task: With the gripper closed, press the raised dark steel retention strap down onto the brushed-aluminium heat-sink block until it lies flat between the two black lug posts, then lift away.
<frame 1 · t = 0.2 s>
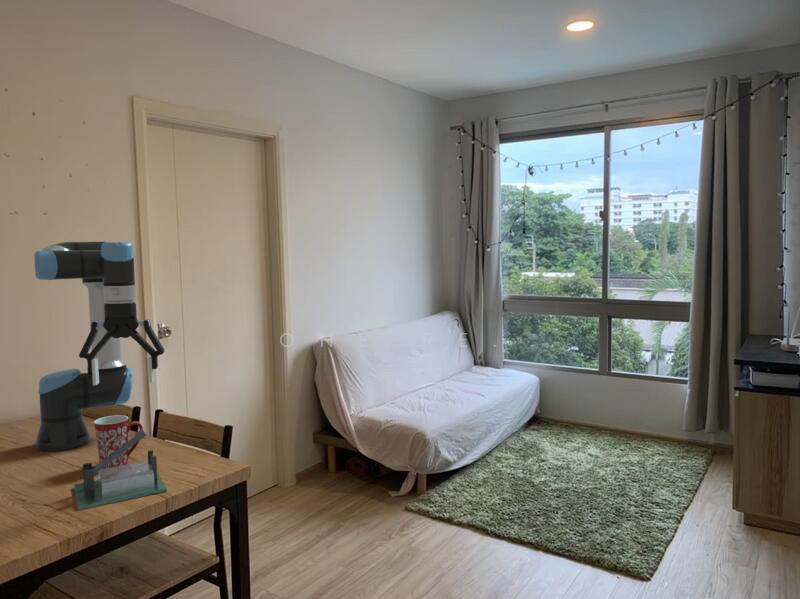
hand: (124, 382, 156), 27 cm above the table, fingers open, 13 cm apart
mug: (120, 464, 172), on the table
strap: (115, 453, 152), point 10 cm above the table, hinge at 32.0°
heatsink assembly: (120, 489, 153), on the table
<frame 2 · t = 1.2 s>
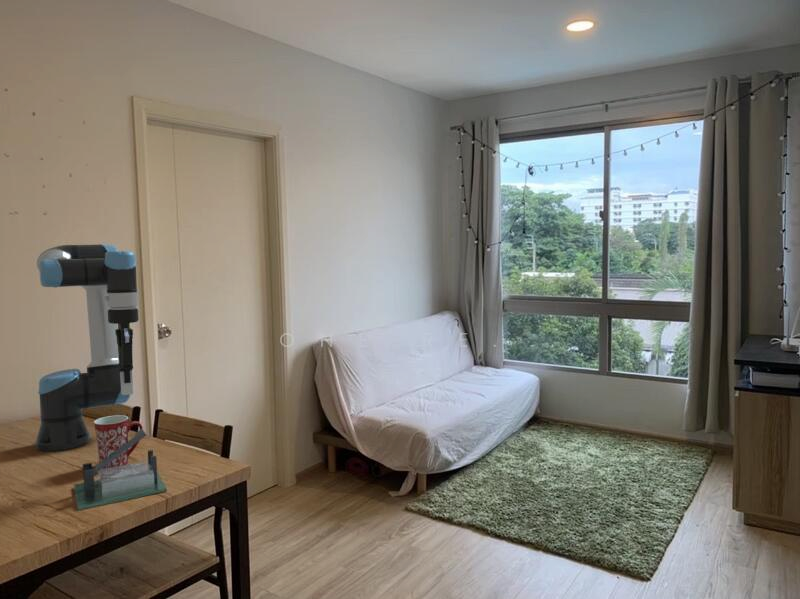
hand: (127, 393, 163), 22 cm above the table, fingers closed
nothing on the table moved.
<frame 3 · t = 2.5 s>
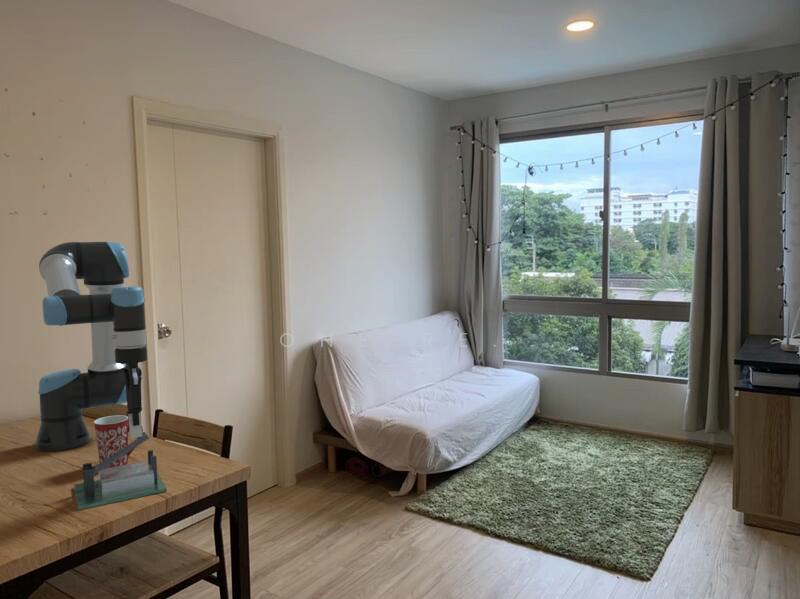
hand: (136, 436, 154), 13 cm above the table, fingers closed
strap: (116, 455, 153), point 9 cm above the table, hinge at 28.0°, touching gripper
everything else where it was.
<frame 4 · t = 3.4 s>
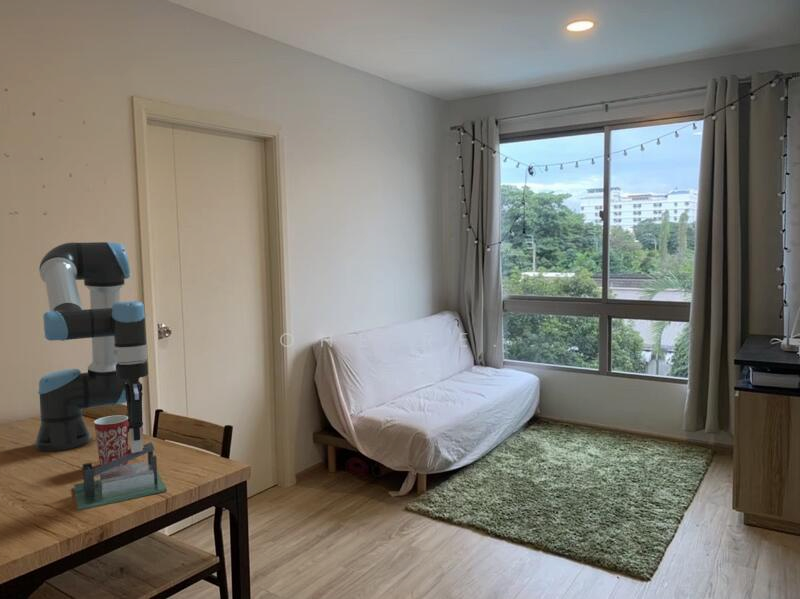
hand: (137, 451, 155), 9 cm above the table, fingers closed
strap: (120, 460, 153), point 8 cm above the table, hinge at 15.6°, touching gripper
everything else where it was.
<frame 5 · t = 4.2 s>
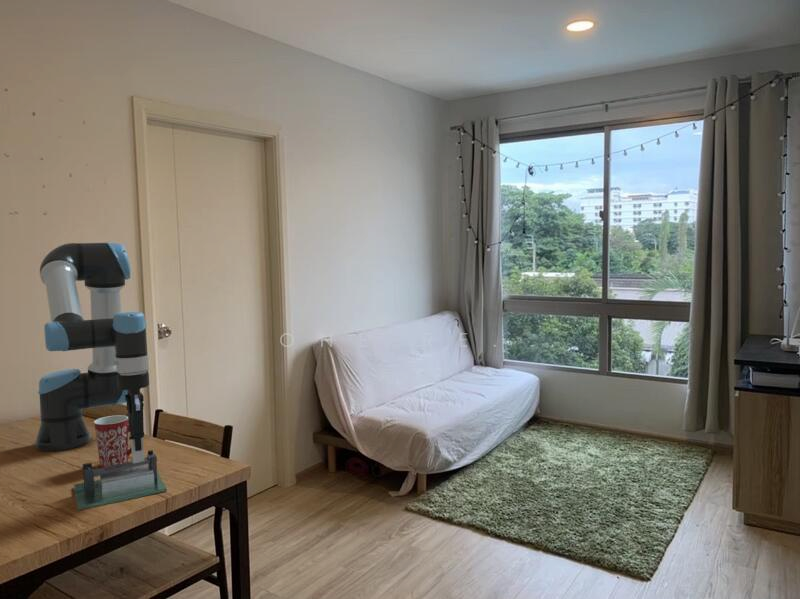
hand: (138, 461, 155), 7 cm above the table, fingers closed
strap: (121, 466, 153), point 6 cm above the table, hinge at 3.8°, touching gripper
everything else where it was.
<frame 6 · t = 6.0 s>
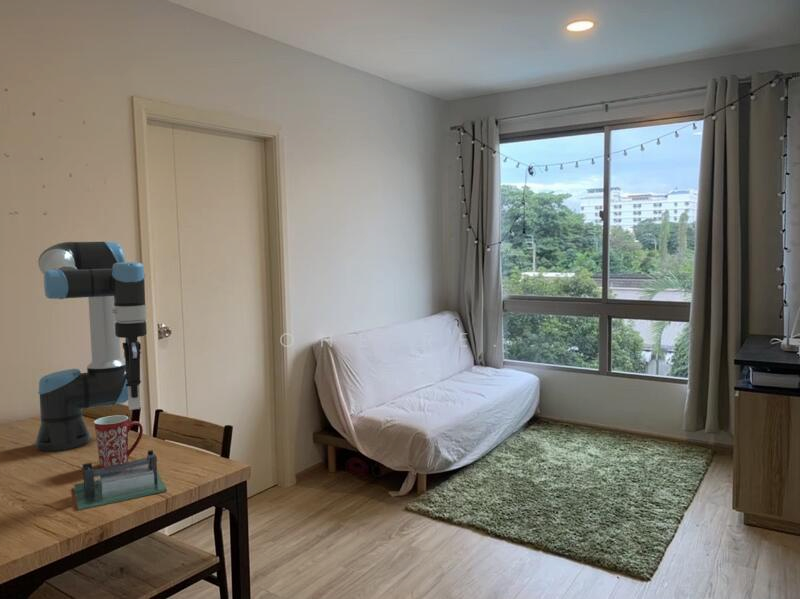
hand: (134, 408, 159), 19 cm above the table, fingers closed
strap: (121, 466, 153), point 6 cm above the table, hinge at 3.7°
everything else where it was.
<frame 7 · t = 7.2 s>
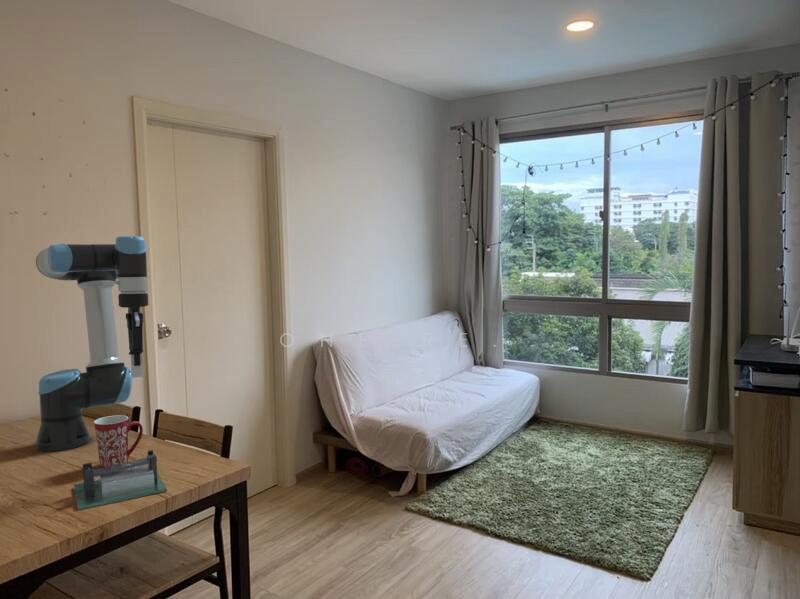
hand: (137, 376, 166), 26 cm above the table, fingers closed
nothing on the table moved.
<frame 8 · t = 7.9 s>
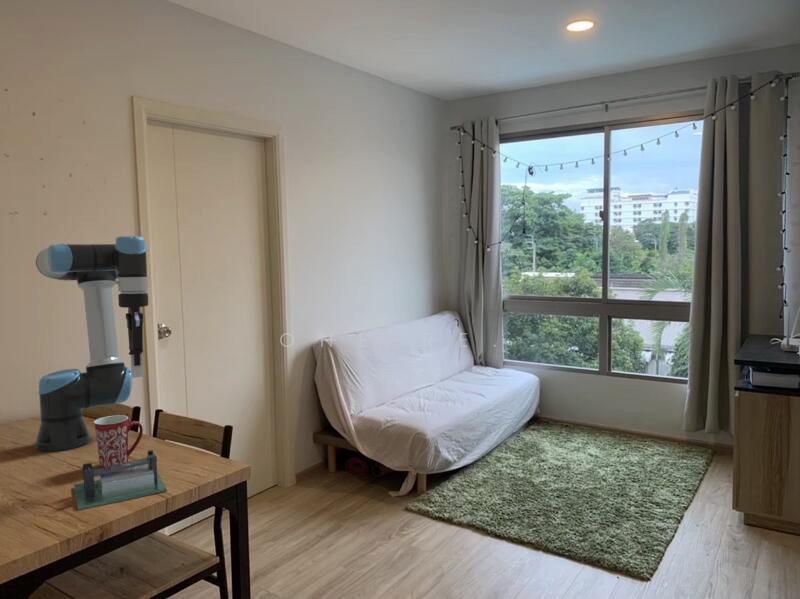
hand: (137, 376, 166), 26 cm above the table, fingers closed
nothing on the table moved.
at the end: strap at +4° (first picture: +32°) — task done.
